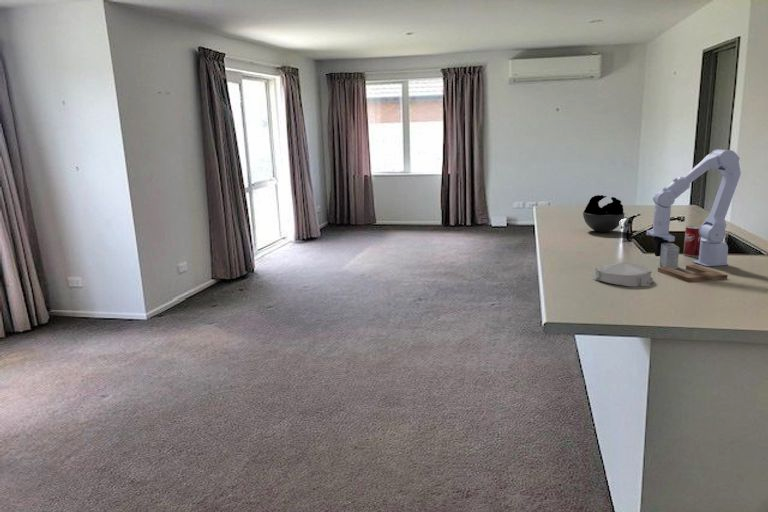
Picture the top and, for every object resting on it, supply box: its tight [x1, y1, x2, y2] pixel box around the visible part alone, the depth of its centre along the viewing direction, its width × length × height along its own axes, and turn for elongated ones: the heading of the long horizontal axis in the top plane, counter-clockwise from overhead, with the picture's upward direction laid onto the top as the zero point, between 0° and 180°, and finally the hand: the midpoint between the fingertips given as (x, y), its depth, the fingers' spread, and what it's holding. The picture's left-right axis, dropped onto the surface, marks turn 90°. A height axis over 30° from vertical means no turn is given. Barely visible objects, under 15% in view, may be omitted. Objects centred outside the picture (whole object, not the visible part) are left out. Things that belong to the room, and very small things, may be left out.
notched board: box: [657, 264, 729, 283], centre depth 211 cm, size 16×16×2 cm
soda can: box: [683, 225, 701, 258], centre depth 241 cm, size 7×7×12 cm
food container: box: [592, 261, 654, 288], centre depth 206 cm, size 20×20×7 cm
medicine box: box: [659, 242, 680, 270], centre depth 222 cm, size 8×4×9 cm, turn 171°
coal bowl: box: [582, 194, 626, 233], centre depth 297 cm, size 20×20×19 cm
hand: (658, 256), depth 228 cm, fingers closed
